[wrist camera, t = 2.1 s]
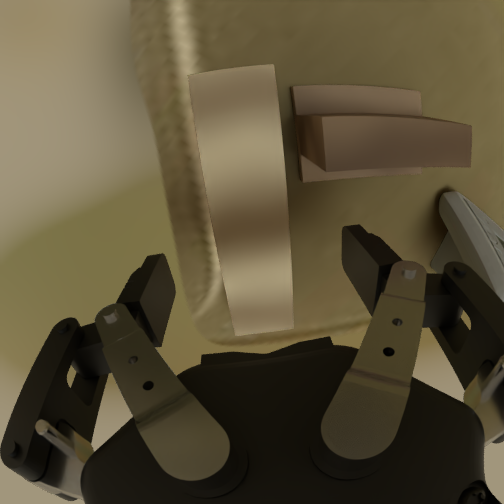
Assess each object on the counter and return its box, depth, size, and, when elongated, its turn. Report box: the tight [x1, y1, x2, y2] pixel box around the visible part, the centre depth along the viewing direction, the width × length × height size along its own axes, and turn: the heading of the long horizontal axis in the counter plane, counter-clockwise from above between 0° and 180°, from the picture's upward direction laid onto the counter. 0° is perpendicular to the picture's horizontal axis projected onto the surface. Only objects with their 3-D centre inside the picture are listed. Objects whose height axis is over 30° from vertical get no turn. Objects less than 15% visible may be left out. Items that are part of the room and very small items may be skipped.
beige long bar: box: [188, 64, 294, 336], centre depth 16 cm, size 16×4×4 cm, turn 7°
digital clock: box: [431, 191, 504, 302], centre depth 16 cm, size 16×9×11 cm, turn 60°
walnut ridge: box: [290, 85, 472, 183], centre depth 13 cm, size 6×9×6 cm, turn 98°
